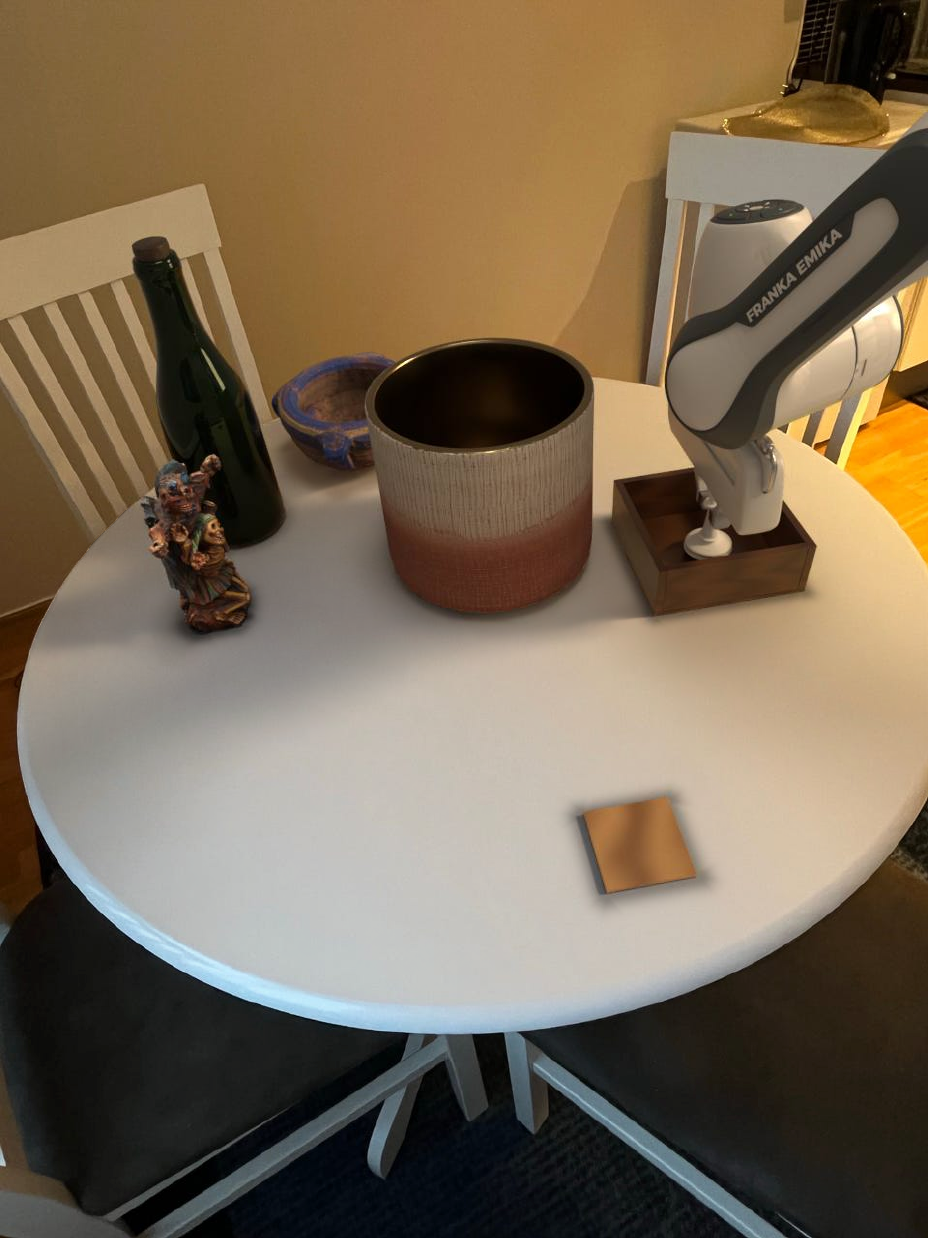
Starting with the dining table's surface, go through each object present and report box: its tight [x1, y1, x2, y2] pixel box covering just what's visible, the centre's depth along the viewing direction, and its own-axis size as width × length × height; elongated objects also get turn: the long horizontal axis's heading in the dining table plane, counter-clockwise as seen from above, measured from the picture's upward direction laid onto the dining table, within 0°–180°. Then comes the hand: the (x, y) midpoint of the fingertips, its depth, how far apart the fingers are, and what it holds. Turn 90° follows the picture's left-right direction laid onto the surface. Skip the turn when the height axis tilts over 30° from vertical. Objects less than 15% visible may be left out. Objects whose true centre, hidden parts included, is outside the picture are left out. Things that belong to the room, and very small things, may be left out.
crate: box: [610, 466, 818, 617], centre depth 87 cm, size 16×16×6 cm
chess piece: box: [684, 486, 732, 560], centre depth 85 cm, size 5×5×10 cm
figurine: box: [140, 454, 253, 635], centre depth 82 cm, size 11×9×18 cm
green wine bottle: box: [131, 235, 286, 547], centre depth 89 cm, size 10×10×33 cm
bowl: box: [271, 351, 398, 472], centre depth 105 cm, size 18×18×10 cm
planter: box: [365, 337, 595, 614], centre depth 85 cm, size 22×22×20 cm
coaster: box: [582, 796, 698, 894], centre depth 65 cm, size 7×7×1 cm
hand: (712, 514), depth 85 cm, fingers closed on chess piece
